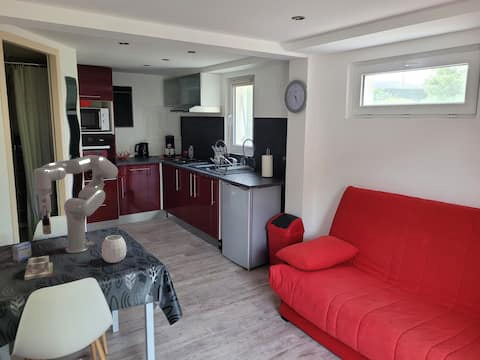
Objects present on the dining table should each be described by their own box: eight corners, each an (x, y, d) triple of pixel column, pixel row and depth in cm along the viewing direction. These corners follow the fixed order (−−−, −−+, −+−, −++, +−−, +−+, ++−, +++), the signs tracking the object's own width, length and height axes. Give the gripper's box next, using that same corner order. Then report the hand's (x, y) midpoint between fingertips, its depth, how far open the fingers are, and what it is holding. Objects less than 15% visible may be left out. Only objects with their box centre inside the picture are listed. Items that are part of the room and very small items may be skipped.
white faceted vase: (123, 265, 194) (122, 241, 191) (98, 265, 193) (97, 241, 190) (129, 255, 207) (128, 233, 204) (106, 255, 206) (105, 233, 203)
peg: (51, 231, 194) (49, 207, 192) (51, 234, 191) (49, 209, 188) (43, 232, 193) (40, 207, 190) (42, 235, 189) (40, 209, 186)
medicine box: (19, 262, 193) (17, 247, 191) (13, 260, 194) (11, 245, 193) (32, 256, 200) (30, 242, 199) (26, 255, 202) (24, 241, 200)
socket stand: (52, 264, 191) (51, 253, 190) (52, 275, 179) (51, 263, 178) (26, 268, 186) (25, 257, 184) (24, 280, 173) (23, 267, 172)
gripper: (51, 194, 181) (54, 228, 185) (51, 187, 196) (54, 219, 200) (34, 195, 178) (37, 230, 182) (36, 188, 193) (39, 220, 196)
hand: (46, 223), depth 191 cm, fingers closed on peg, 4 cm apart
